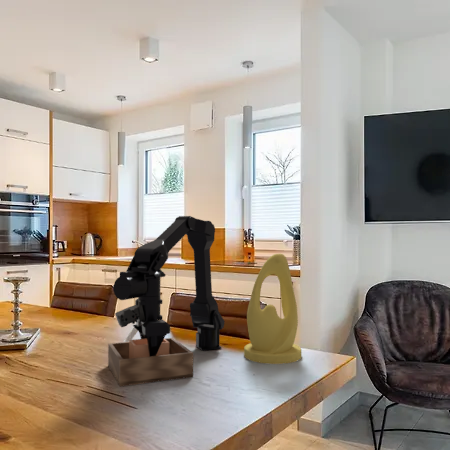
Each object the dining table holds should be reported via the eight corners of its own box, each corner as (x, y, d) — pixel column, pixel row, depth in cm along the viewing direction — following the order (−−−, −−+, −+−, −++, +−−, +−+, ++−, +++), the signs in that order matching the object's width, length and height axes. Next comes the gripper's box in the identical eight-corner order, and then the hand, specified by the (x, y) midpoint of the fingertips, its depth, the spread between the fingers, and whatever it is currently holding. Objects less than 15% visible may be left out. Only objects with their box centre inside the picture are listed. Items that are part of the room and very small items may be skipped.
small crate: (162, 355, 122) (162, 337, 122) (169, 361, 116) (169, 342, 116) (129, 359, 118) (129, 340, 118) (134, 365, 112) (134, 345, 112)
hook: (155, 341, 128) (135, 328, 127) (131, 374, 129) (110, 361, 128) (157, 330, 135) (137, 318, 134) (134, 361, 136) (114, 349, 135)
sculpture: (263, 366, 121) (263, 254, 122) (234, 352, 136) (234, 252, 137) (313, 359, 129) (312, 253, 130) (280, 346, 144) (279, 251, 144)
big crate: (172, 358, 129) (172, 337, 129) (193, 377, 112) (193, 352, 112) (108, 365, 122) (108, 343, 122) (119, 386, 105) (120, 360, 105)
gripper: (112, 292, 123) (111, 350, 123) (124, 302, 106) (124, 369, 105) (152, 290, 127) (152, 346, 127) (170, 299, 110) (170, 364, 110)
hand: (149, 355), depth 117 cm, fingers closed on small crate, 6 cm apart
